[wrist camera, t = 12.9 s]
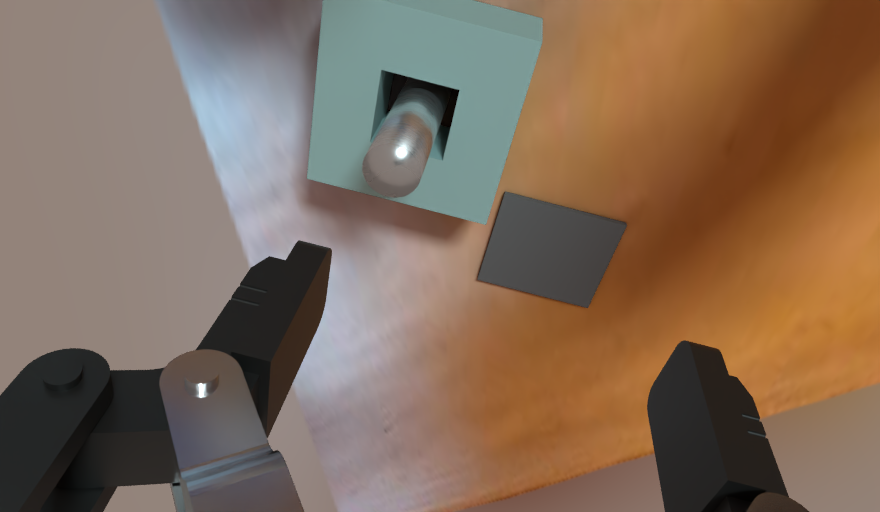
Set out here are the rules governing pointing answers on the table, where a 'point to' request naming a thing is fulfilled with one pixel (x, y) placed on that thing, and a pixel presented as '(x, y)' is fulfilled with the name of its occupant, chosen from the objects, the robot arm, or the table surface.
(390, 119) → the pin
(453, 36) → the socket block
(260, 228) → the table surface
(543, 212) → the mat
